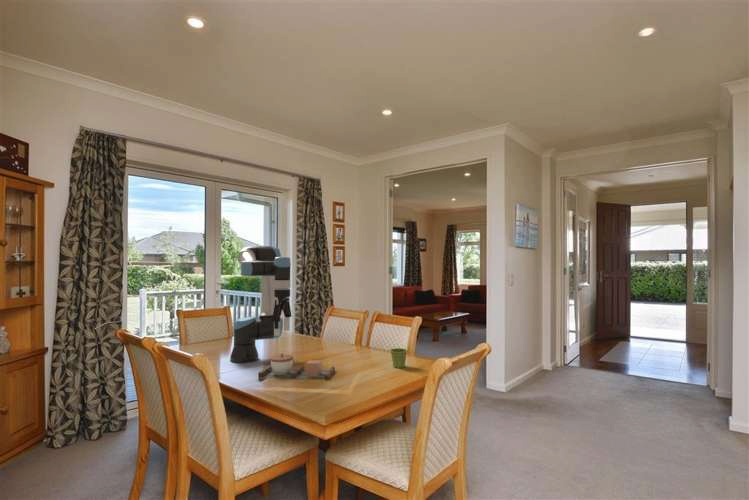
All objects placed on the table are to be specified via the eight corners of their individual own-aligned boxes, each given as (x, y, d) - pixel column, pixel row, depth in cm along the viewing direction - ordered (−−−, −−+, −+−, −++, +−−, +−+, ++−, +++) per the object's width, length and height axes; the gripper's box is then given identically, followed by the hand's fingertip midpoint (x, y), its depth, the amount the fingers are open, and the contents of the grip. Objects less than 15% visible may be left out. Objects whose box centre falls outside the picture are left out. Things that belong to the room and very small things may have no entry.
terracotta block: (309, 372, 199) (309, 360, 199) (321, 372, 199) (321, 360, 199) (305, 376, 193) (305, 363, 193) (318, 376, 193) (318, 363, 193)
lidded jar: (266, 375, 194) (266, 355, 194) (276, 369, 204) (276, 350, 204) (287, 377, 192) (287, 356, 192) (296, 370, 202) (296, 351, 202)
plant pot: (392, 369, 211) (392, 352, 211) (388, 364, 220) (388, 348, 220) (409, 368, 213) (409, 351, 213) (404, 364, 222) (404, 347, 222)
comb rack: (270, 371, 206) (270, 364, 206) (334, 373, 202) (334, 366, 202) (258, 380, 191) (258, 372, 191) (327, 383, 187) (327, 375, 188)
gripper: (283, 286, 212) (283, 328, 212) (265, 290, 187) (264, 337, 187) (297, 287, 211) (297, 328, 211) (280, 291, 187) (280, 338, 186)
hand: (281, 332), depth 199 cm, fingers open, 13 cm apart
